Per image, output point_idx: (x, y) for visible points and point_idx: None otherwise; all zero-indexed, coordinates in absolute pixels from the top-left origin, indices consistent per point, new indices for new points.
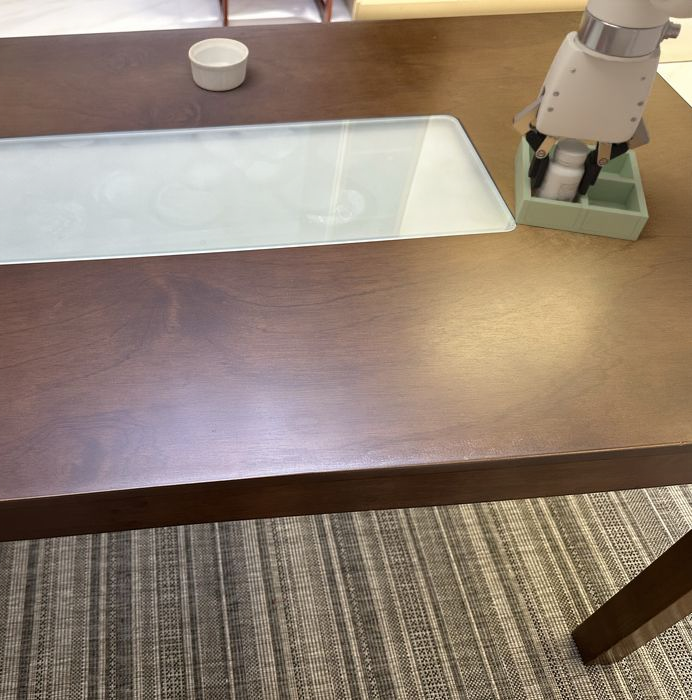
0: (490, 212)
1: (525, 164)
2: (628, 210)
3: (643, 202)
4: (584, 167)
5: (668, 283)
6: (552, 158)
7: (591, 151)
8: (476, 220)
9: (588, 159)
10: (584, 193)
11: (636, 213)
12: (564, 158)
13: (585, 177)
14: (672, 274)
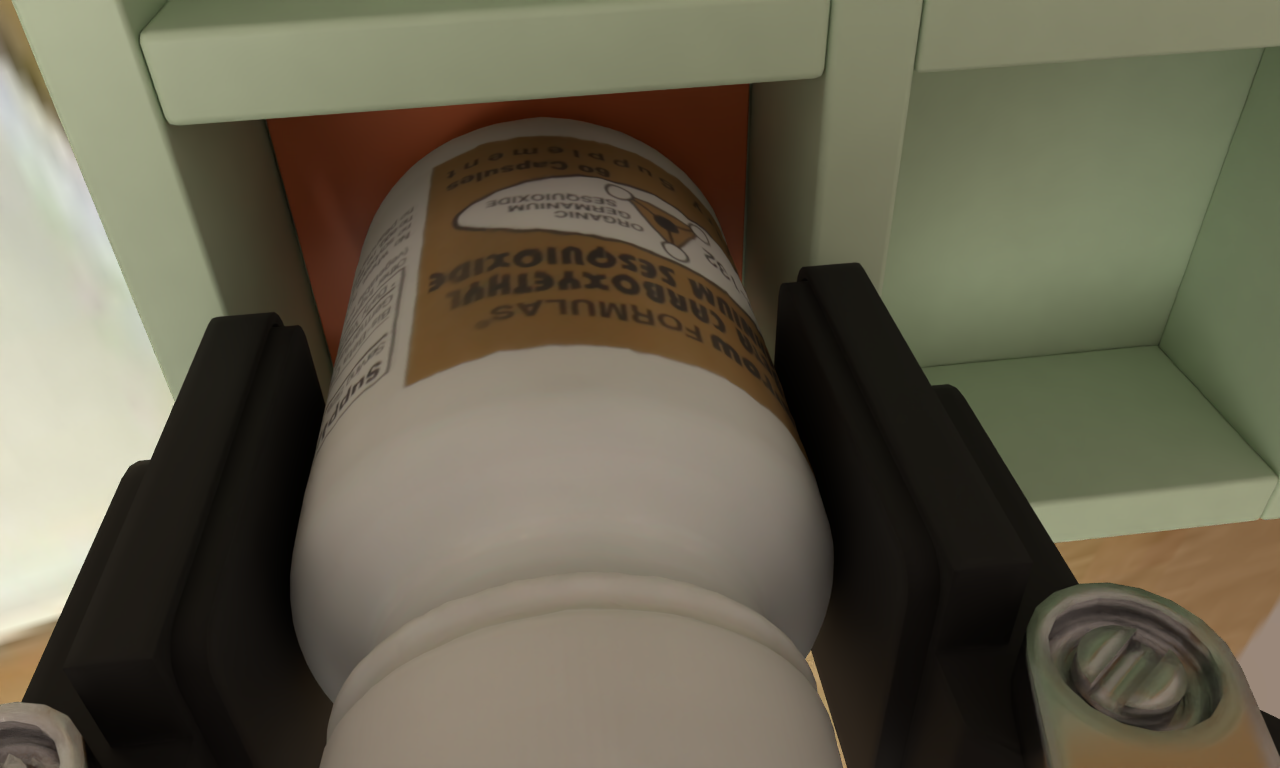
0: (70, 382)
1: (56, 25)
2: (1263, 141)
3: None
4: (819, 628)
5: (1199, 609)
6: (356, 641)
7: (966, 580)
8: (9, 497)
9: (882, 651)
10: None
11: (1236, 504)
12: None
13: (816, 662)
14: (1258, 550)
